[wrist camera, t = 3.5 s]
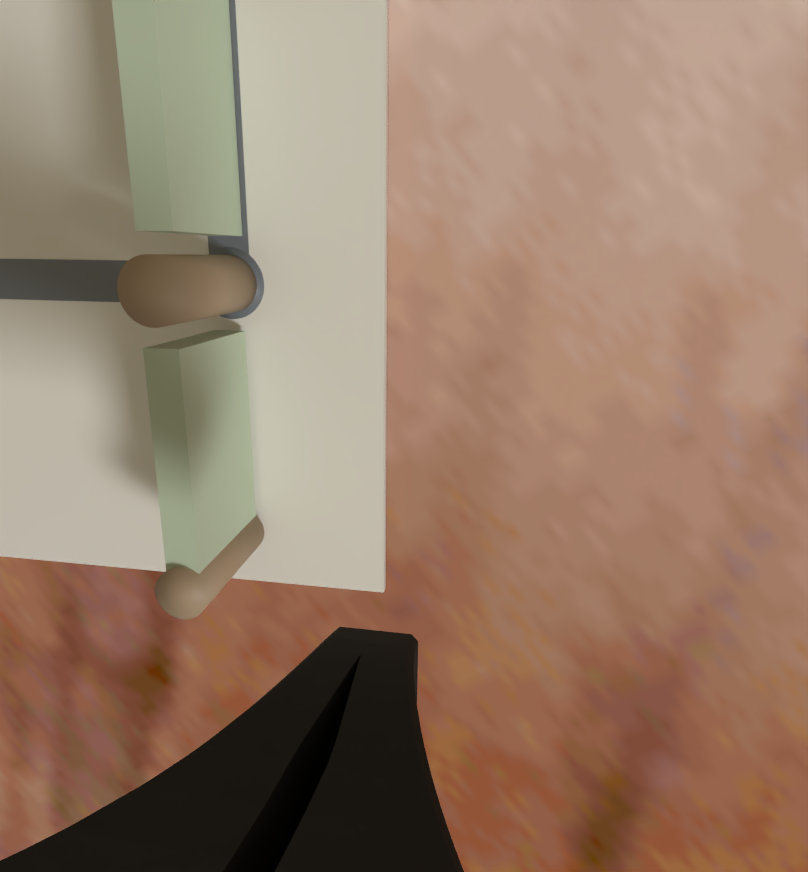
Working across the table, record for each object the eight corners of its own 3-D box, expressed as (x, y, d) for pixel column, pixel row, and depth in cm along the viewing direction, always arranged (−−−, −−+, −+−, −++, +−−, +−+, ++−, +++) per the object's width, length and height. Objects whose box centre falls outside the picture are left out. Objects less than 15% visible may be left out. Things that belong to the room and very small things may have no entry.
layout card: (0, 551, 22) (-7, 555, 22) (-110, -40, 17) (-122, -46, 17) (385, 587, 20) (383, 593, 20) (388, -74, 15) (385, -80, 15)
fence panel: (224, 548, 20) (157, 616, 16) (207, 329, 18) (128, 348, 14) (265, 551, 20) (208, 621, 16) (253, 330, 18) (184, 350, 14)
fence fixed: (206, 311, 18) (121, 326, 14) (178, -57, 16) (65, -164, 12) (258, 312, 18) (186, 329, 14) (238, -61, 15) (144, -172, 11)
